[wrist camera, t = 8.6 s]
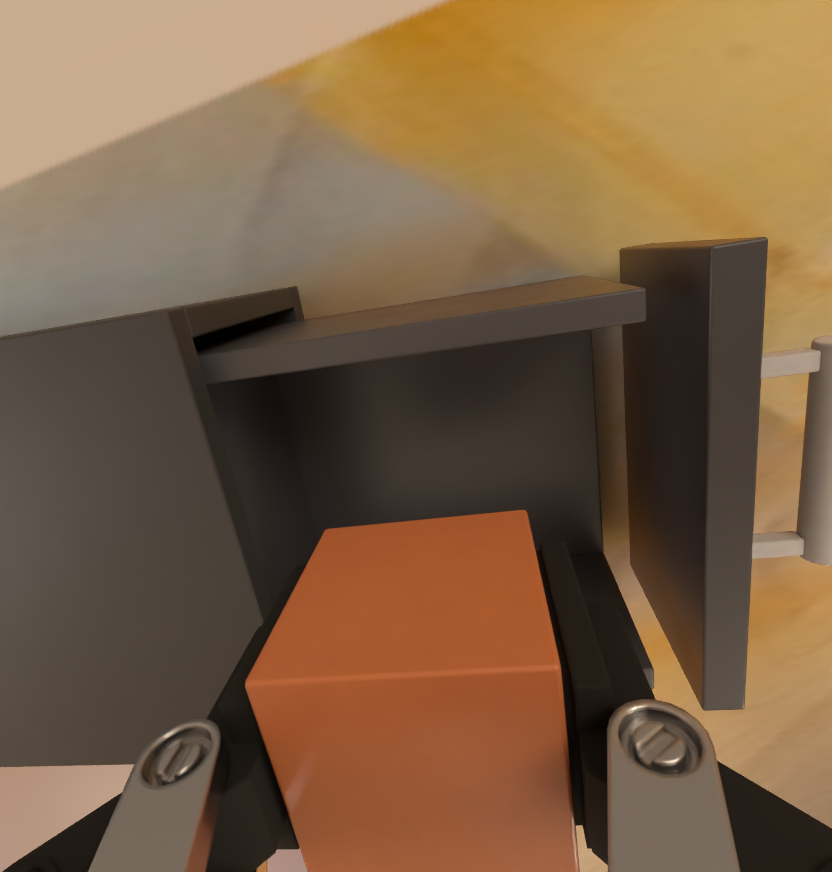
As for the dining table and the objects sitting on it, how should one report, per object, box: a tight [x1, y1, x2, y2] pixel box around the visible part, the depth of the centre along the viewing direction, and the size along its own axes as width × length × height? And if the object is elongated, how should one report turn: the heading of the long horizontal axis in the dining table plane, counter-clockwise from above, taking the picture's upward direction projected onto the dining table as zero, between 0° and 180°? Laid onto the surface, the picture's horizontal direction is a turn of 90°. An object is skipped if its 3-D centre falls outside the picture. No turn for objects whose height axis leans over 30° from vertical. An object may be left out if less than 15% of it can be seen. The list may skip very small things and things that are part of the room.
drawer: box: [196, 237, 832, 710], centre depth 18 cm, size 20×13×8 cm
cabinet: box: [0, 287, 304, 767], centre depth 20 cm, size 17×15×10 cm
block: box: [245, 510, 580, 872], centre depth 10 cm, size 4×4×4 cm
